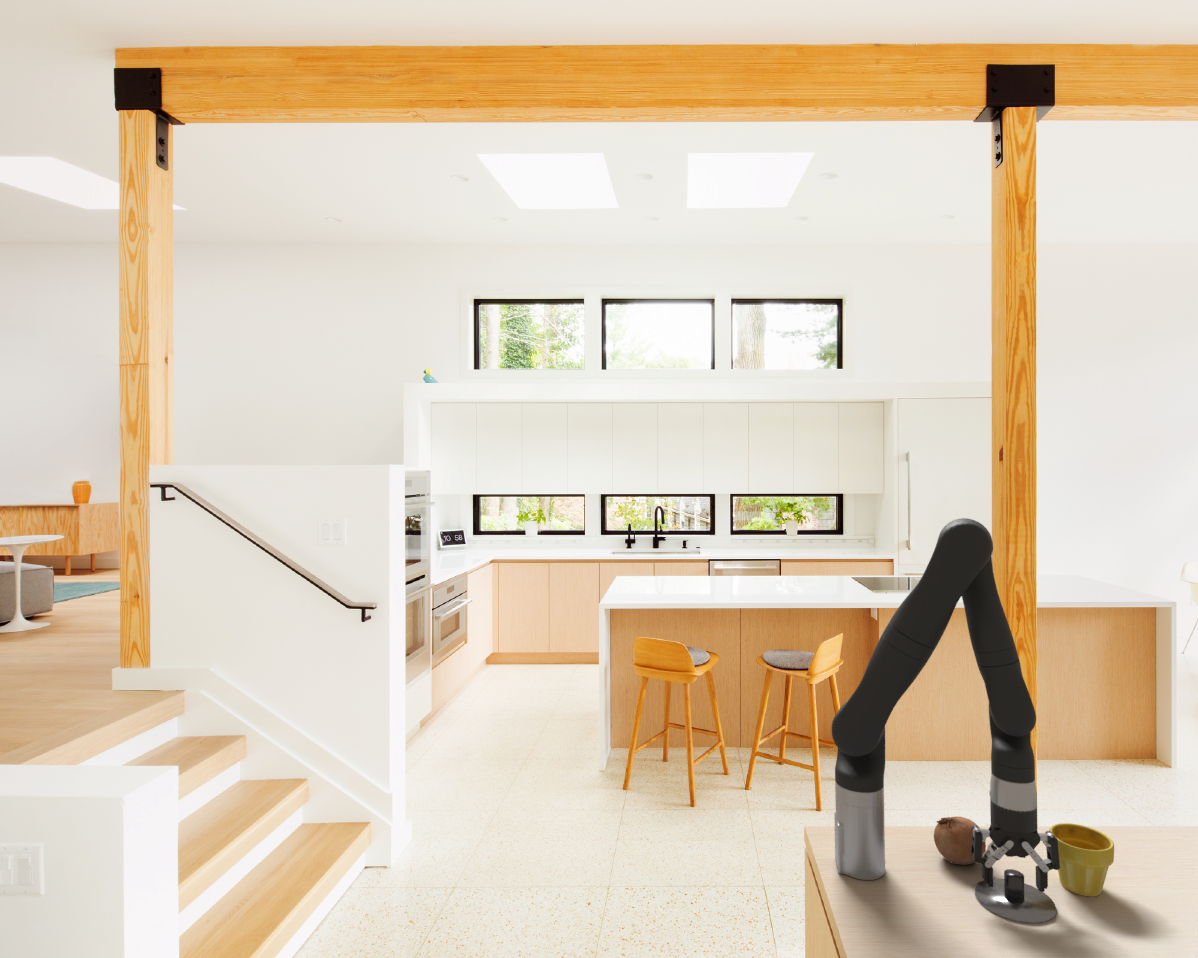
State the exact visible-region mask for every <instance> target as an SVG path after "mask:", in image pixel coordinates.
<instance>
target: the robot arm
mask: <svg viewBox="0 0 1198 958" xmlns="http://www.w3.org/2000/svg"><path fill="white" fill-rule="evenodd" d="M993 552H994V542H993V537H992V535H991V533H990V532H989V530H988V528H986V526H984V524H982V523H981V522H979V521H976V520H975V519H971V518H965V517H963V518H962V517H961V518H956V519H953V520H951V521H949V522H948V523H947V524H945V526H944V527H943V528H942V529H941V531H940V533H939V535H938V537H937V540H936V545H935V548H934V550H933V552H932V554H931V557H930V559H929V562H928V564H927V566H926V568H925V570H924V572H923V575H922V576H921V578H920V580H919V581H918V583H916V585H915V586H914V588H913V589H912V590H911V592H910V593H908V595H906V597H905V598H904V600H903V601H902V603H901V604H900V605H899V606H898V608H897V609H896V610H895V612H894V614H893V615H892V616H891V618H890V620H889V621H888V623H887V625H886V626H885V629H883V631H882V633H881V635H880V638H879V640H878V642H877V644H876V646H875V648H874V650H873V652H872V654H871V656H870V658H869V661H868V664H867V665H866V669H865V671H864V673H863V675H862V678H861V680H860V682H859V684H858V686H856V689H855V690H854V691H853V693H852V695H851V696H850V697H849V699H848V700H847V701H845V703H843V704H842V705H841V706H840V708H839V709H838V711H837V712H836V714H835V715H834V717H833V719H832V722H831V737H832V740H833V742H834V745H835V746H836V747H837V755H836V761H835V767H834V783H835V784H834V785H835V786H834V789H835V790H834V792H835V794H834V795H835V799H834V800H835V812H834V817H833V818H834V856H835V857H834V858H835V863H836V868H837V872H838V874H843V875H846V876H849V877H851V878H854V879H856V880H857V879H858V880H865V881H868V880H869V881H870V880H871V881H873V880H877V879H881V877H883V876H884V875H885V873H886V843H885V841H886V840H885V838H886V837H885V836H886V835H885V832H886V831H885V787H884V786H885V783H884V781H885V768H886V726H887V725H886V724H887V723H888V720H889V718H890V716H891V714H892V712H893V710H894V708H895V706H896V705H897V703H898V702H899V701H900V699H901V698H902V696H904V694H905V693H906V692H907V690H908V689H909V688H910V687H911V685H913V682H914V681H915V680H916V678H917V677H918V676H919V675H920V673H921V672H922V671H923V669H924V668H925V666H926V664H927V663H928V662H929V659H931V657H932V654H934V651H935V649H936V648H937V646H938V645H939V643H940V641H941V640H942V636H943V635H944V632H946V629H947V627H948V624H949V623H950V621H951V618H952V616H953V614H954V611H955V609H956V606H957V604H958V603H959V601H960V599H961V598H962V603H963V607H964V612H965V618H966V625H967V629H968V634H969V639H970V643H971V647H972V650H973V654H974V657H975V661H976V664H977V668H978V671H979V673H980V676H981V678H982V680H983V683H984V687H985V690H986V695H987V700H988V717H989V718H988V719H989V728H990V729H989V730H990V737H991V750H990V751H991V753H990V763H991V765H990V768H991V773H990V781H989V782H990V783H989V798H990V799H989V802H990V803H989V804H990V805H989V806H990V808H989V809H990V810H989V811H990V826H989V828H988V829H987V828H980V827H979V825H978V826H976V825H974V826H972V834H971V856H972V857H973V859H974V861H975V864H980V865H981V877H982V879H983V880H984V881H985V883H987V885H988V887H993V878H994V868H993V865H994V864H996V862H997V861H1000V860H1001V859H1002V858H1003V857H1004V856H1006V857H1010V858H1012V857H1018V858H1022V859H1023V858H1026V857H1028V856H1030V857H1031V859H1032V860H1033V862H1035V864H1036V865H1035V886H1036V887H1035V888H1037V889H1038V890H1039V891H1040V892H1043V893H1045V889H1046V890H1047V889H1048V887H1049V883H1048V882H1049V878H1048V877H1049V874H1048V873H1049V872H1050V871H1051V870H1055V871H1058V869H1059V868H1060V862H1059V850H1058V840H1057V838H1056V837H1055V836H1054V834H1053V833H1052V832H1051V831H1049V830H1046V831H1045V832H1044V833H1043V832H1041V833H1040V832H1039V833H1038V790H1037V784H1036V765H1035V764H1036V763H1035V762H1036V761H1035V754H1034V750H1033V747H1032V743H1031V738H1032V737H1031V736H1032V735H1031V732H1032V731H1033V730H1034V728H1035V726H1036V723H1037V713H1036V709H1035V707H1034V704H1033V701H1032V698H1031V694H1030V693H1029V692H1030V691H1029V689H1028V687H1027V684H1026V682H1025V679H1024V676H1023V672H1022V667H1021V666H1022V665H1021V662H1020V658H1019V654H1018V650H1017V647H1016V643H1015V640H1014V637H1013V633H1012V630H1011V628H1010V625H1009V621H1008V619H1007V616H1006V613H1005V610H1004V607H1003V605H1002V601H1001V599H1000V595H999V593H998V588H997V584H996V579H995V574H994V567H993V558H992V555H993ZM978 827H979V828H978ZM987 838H990V840H991V842H990V843H989V844H988V845H987V846H986V848H987V849H985V850H986V851H985V852H984V853H983V855H982V842H986V839H987ZM1041 841H1042V844H1043V845H1044V846H1045V847H1046V849H1045V850H1046V859H1043V858H1042V857H1041V856H1040V855H1039V853H1038V852H1037V851H1036V850H1035V849H1036V847H1038V845H1039V844H1040V842H1041Z"/></svg>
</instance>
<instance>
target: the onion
mask: <svg viewBox="0 0 1198 958" xmlns="http://www.w3.org/2000/svg"><path fill="white" fill-rule="evenodd" d="M936 823H937V824H936V826H935V828H934V832H933V841H934V844H935V846H936V849H937V851H938V852H939V853H940V855H941V856H942V857H943V858H944V859H945V860H947V861H948V862H949V863H951V864H954V865H955V864H956V865H962V866H963V865H974V864H976V862H975V861H974V859H973V857H972V856H971V834H972V826H974V825H976V826H978V828H980V826H979V825H977V823H975V821H973V820H971V819H970V818H967V817H962V816H948V817H946V816H945V817H941V818H940V820H937V821H936ZM986 848H987V845H986V841H985V842H982V855H983V853H984V852H985V851H986V850H987V849H986Z"/></svg>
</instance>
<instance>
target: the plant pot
mask: <svg viewBox="0 0 1198 958" xmlns="http://www.w3.org/2000/svg"><path fill="white" fill-rule="evenodd" d="M1048 831H1051V832H1052V833H1053V834H1054V836H1055V837H1056V838H1057V840H1058V850H1059V862H1060V868H1059V869H1058V870H1057V872H1058V877H1059V881H1060V884H1061V886H1063V888H1065V889H1067V890H1068V891H1070V892H1072V893H1074V894H1076V895H1080V896H1084V897H1098V896H1100V895H1101V894H1102V892H1103V888H1104V886H1105V881H1106V878H1107V874H1108V870H1109V867H1111V865H1112V864H1113V863H1114V860H1115V843H1114V841H1113V840H1112V838H1111V837H1109V836H1108V835H1107V834H1105V832H1102V831H1100V830H1097V829H1096V828H1092V827H1090V826H1087V825H1083V824H1077V823H1068V822H1065V823H1064V822H1062V823H1056V824H1054V825H1052V826H1051V827H1049V830H1048Z"/></svg>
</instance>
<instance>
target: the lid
mask: <svg viewBox="0 0 1198 958" xmlns="http://www.w3.org/2000/svg"><path fill="white" fill-rule="evenodd" d="M1003 871H1004V874H1003V876H1004V877H1003V878H1000V877H997V878H996V877H993V887H988V885H987V883H985V881H984V879H983V880H980V881H978V882H977V883H976V885H975V887H974V896H975V899H976V900H977V902H978V903H979V904H980V905H981V906H982V907H983V908H985V909H986V910H987V911H989V912H991V913H993V914H994V915H996V916H998V917H1001V918H1003V919H1006V920H1009V921H1012V922H1016V923H1021V924H1027V925H1029V924H1030V925H1034V924H1035V925H1036V924H1039V925H1040V924H1045V923H1049V922H1051V921H1052V920H1053V919H1055V917H1056V915H1057V906H1056V903H1055V902H1054V901H1053V899H1052V898H1051V897H1050V896H1049V895H1048V894H1047V893H1045V892H1040V891H1039V890H1038V888H1037V887H1034V886H1032V885H1030V884H1027V883H1025V875H1024V873H1022V872H1021V871H1019V870H1016V869H1012V868H1010V869H1009V868H1008V869H1005V870H1003Z"/></svg>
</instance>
